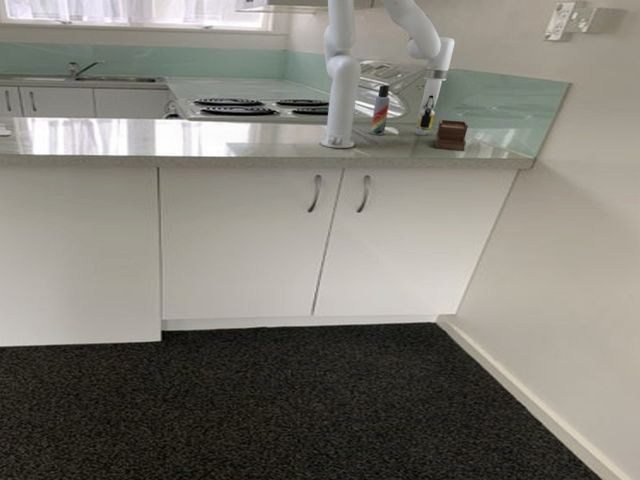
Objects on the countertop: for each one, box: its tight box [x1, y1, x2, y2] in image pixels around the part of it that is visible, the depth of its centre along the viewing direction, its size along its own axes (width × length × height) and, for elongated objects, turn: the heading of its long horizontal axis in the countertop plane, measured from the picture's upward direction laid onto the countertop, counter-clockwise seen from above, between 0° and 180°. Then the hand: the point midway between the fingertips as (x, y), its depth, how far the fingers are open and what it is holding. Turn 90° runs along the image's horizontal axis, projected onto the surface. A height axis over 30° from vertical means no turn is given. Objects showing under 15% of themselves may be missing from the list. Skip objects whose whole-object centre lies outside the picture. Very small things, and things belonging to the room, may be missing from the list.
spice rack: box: [434, 119, 469, 152], centre depth 165 cm, size 15×10×8 cm, turn 159°
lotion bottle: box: [370, 85, 390, 136], centre depth 180 cm, size 6×6×20 cm
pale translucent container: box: [414, 106, 428, 136], centre depth 183 cm, size 5×5×12 cm
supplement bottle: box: [415, 105, 436, 133], centre depth 161 cm, size 5×5×10 cm
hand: (424, 125), depth 163 cm, fingers closed on supplement bottle, 5 cm apart
